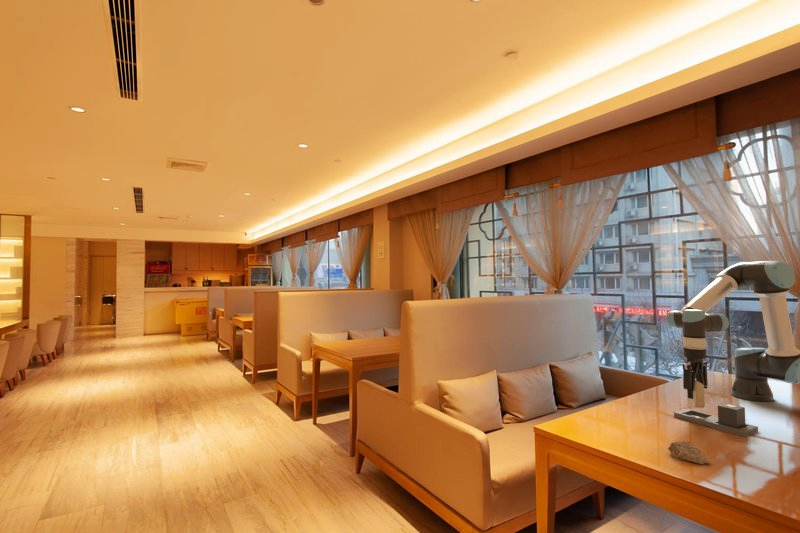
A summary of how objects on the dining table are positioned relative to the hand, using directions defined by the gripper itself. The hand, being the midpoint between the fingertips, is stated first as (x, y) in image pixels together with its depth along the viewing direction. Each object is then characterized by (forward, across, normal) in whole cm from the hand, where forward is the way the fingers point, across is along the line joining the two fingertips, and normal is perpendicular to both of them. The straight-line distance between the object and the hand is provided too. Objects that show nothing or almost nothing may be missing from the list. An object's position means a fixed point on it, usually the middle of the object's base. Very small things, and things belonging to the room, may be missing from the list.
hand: (696, 405), depth 164 cm
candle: (+1, 0, 0) cm, 1 cm away
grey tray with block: (+6, 0, +6) cm, 8 cm away
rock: (+6, +40, +18) cm, 45 cm away
